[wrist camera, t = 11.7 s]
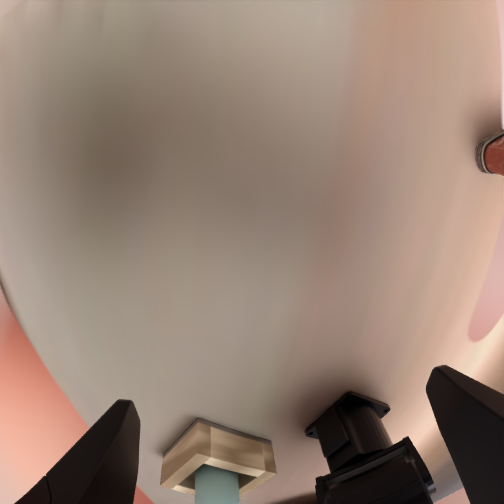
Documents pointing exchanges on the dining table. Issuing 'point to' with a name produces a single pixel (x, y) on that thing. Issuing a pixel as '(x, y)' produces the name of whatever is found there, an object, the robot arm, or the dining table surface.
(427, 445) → the dining table surface
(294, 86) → the dining table surface
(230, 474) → the peg
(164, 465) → the socket
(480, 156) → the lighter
